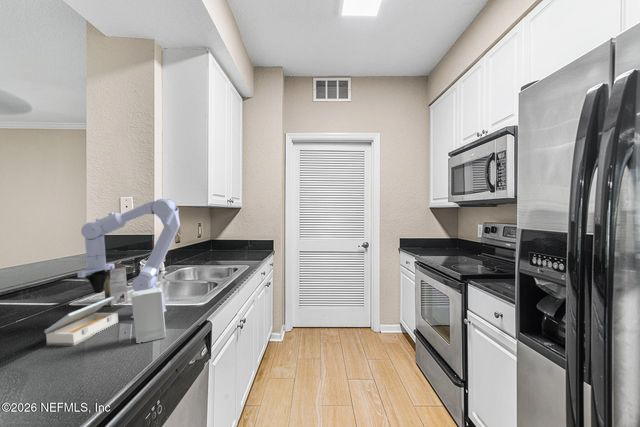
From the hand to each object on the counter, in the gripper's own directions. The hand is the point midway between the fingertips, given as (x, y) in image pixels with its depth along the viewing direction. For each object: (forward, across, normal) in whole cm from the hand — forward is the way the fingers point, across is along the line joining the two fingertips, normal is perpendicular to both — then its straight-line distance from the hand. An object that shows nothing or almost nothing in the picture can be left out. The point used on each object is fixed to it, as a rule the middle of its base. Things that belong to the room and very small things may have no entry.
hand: (98, 292), depth 119 cm
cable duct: (+10, +12, +5) cm, 16 cm away
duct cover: (+4, +12, +5) cm, 13 cm away
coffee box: (+10, -19, -9) cm, 23 cm away
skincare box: (+10, +15, +30) cm, 35 cm away
